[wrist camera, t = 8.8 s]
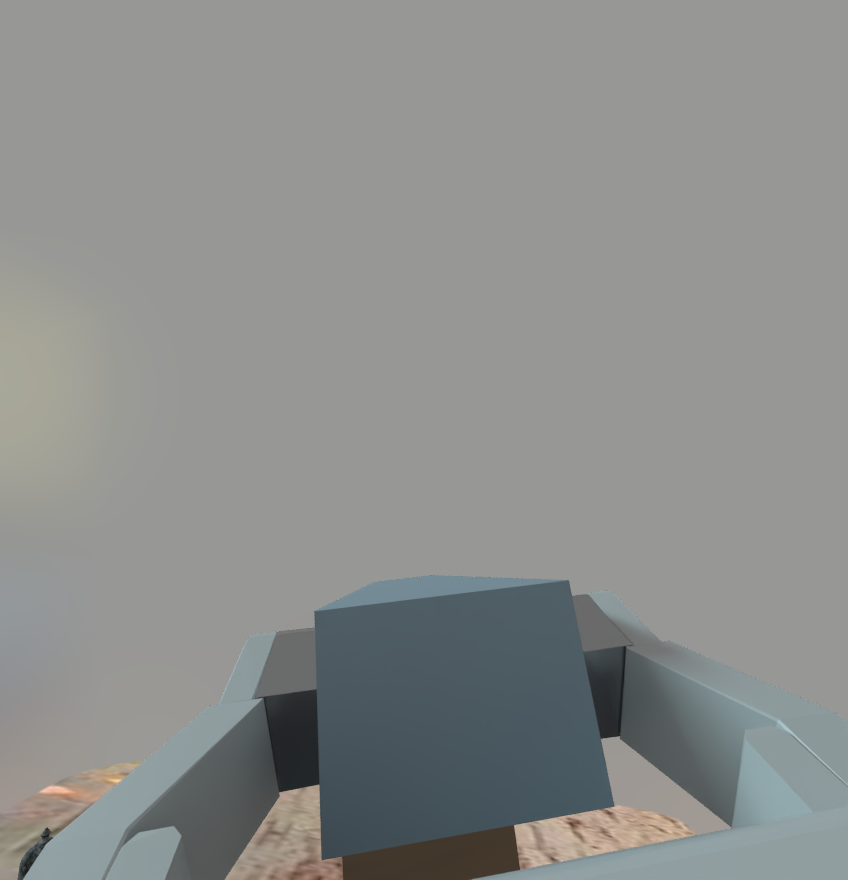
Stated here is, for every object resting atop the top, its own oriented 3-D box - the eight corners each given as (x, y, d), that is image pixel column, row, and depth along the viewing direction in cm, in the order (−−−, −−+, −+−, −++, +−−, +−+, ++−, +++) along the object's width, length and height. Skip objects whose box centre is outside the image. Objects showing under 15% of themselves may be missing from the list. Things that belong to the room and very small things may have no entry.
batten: (614, 806, 6) (568, 580, 7) (321, 859, 5) (314, 610, 6) (436, 621, 29) (431, 575, 29) (377, 628, 28) (374, 582, 29)
